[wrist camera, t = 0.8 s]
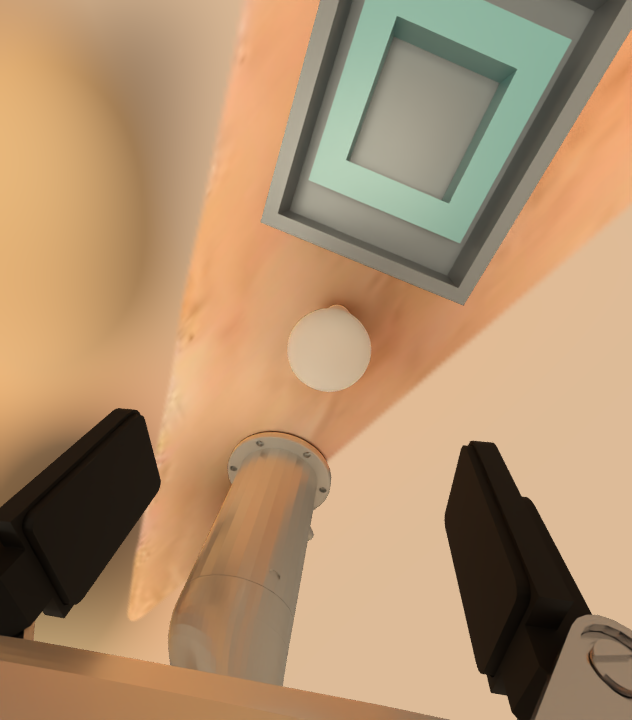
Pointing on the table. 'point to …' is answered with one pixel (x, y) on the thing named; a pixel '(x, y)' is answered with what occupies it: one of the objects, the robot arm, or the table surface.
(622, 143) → the table surface
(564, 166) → the table surface
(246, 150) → the table surface
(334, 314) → the lightbulb
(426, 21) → the open box
